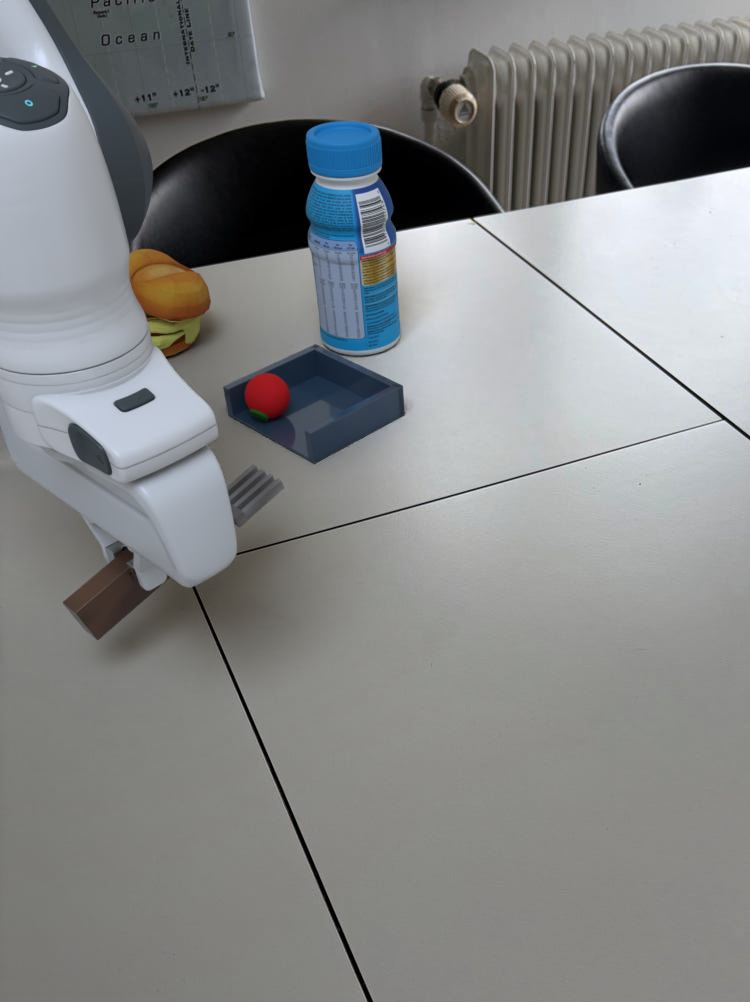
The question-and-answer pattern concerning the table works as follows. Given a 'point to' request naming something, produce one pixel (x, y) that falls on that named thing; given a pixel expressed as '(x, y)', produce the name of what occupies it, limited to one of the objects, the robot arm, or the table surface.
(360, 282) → the beverage bottle
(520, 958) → the table surface
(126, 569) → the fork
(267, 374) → the tomato
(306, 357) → the tray
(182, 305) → the cheeseburger
